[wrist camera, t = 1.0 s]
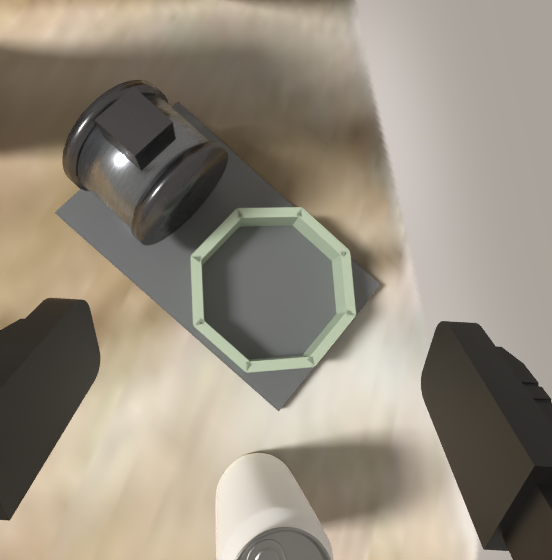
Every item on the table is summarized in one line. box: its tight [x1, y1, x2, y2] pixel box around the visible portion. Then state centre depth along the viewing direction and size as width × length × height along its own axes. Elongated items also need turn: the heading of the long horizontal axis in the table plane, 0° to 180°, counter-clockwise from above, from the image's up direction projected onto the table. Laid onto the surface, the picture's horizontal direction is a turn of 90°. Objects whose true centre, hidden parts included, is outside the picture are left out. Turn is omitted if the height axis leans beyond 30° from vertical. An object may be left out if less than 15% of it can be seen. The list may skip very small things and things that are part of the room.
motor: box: [63, 80, 228, 246], centre depth 27 cm, size 7×9×11 cm
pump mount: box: [55, 102, 380, 411], centre depth 32 cm, size 24×14×4 cm, turn 49°
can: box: [216, 453, 333, 560], centre depth 25 cm, size 6×6×12 cm
